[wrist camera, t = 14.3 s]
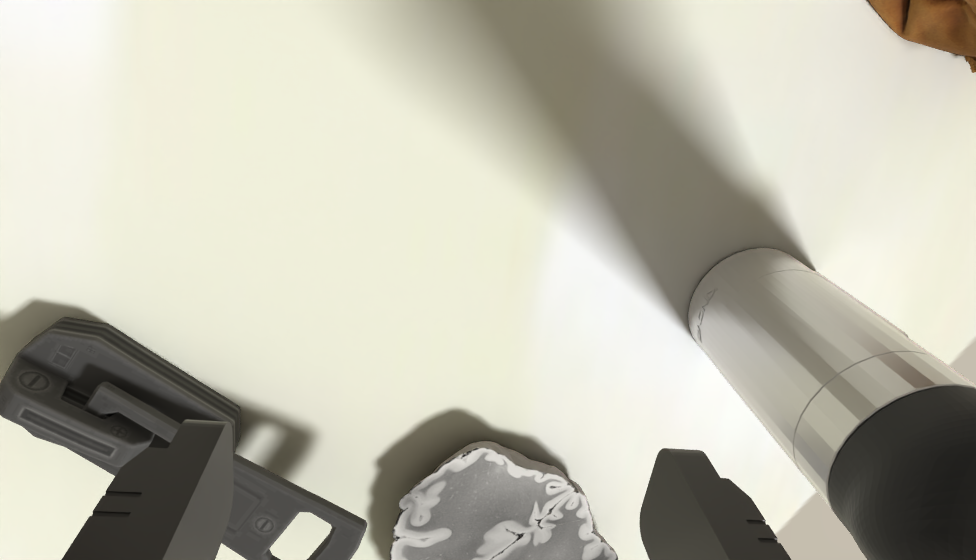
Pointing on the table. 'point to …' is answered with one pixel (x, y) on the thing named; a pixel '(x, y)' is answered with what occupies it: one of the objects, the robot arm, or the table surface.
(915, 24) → the stuffed squirrel
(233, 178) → the table surface
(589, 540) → the brain slice
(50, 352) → the zipper pull
